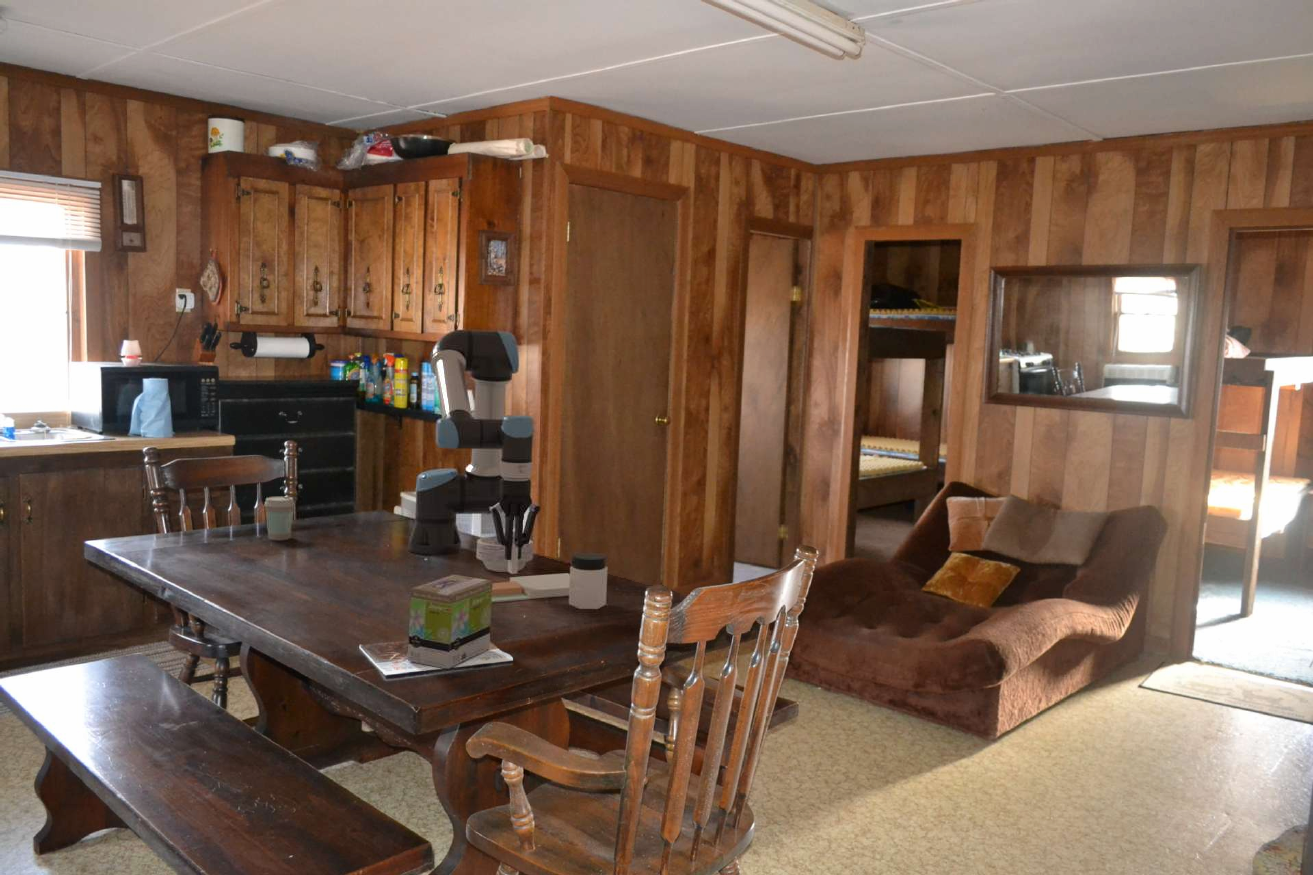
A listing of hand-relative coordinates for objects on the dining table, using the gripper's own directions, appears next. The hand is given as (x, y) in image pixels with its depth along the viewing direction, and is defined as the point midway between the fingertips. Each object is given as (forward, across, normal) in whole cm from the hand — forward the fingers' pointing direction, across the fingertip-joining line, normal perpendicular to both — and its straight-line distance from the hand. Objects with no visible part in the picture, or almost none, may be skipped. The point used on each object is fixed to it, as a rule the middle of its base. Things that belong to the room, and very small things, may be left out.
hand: (512, 572), depth 256 cm
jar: (+5, +13, -17) cm, 22 cm away
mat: (+5, -6, 0) cm, 8 cm away
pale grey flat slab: (+5, +10, 0) cm, 11 cm away
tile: (+5, -3, 0) cm, 5 cm away
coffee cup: (+6, -43, +79) cm, 90 cm away
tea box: (+5, -29, -43) cm, 52 cm away
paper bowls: (+6, +7, +24) cm, 26 cm away
